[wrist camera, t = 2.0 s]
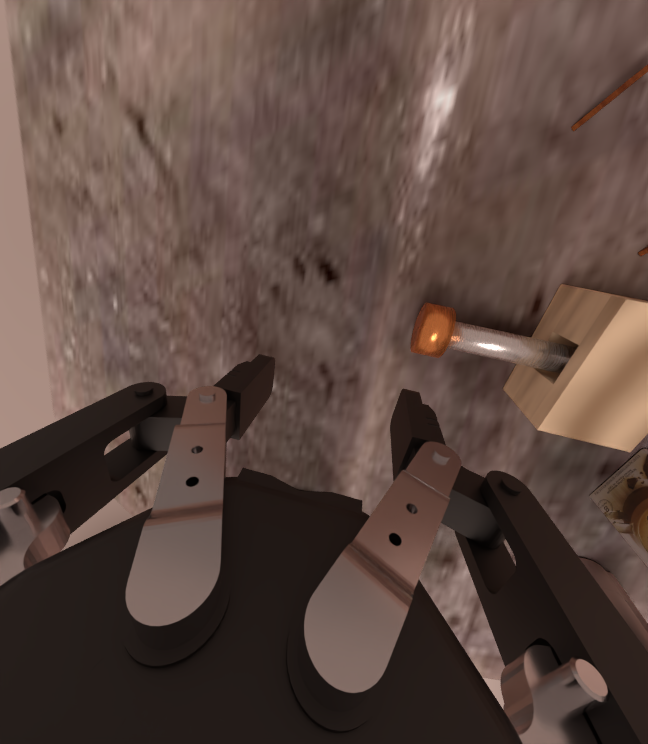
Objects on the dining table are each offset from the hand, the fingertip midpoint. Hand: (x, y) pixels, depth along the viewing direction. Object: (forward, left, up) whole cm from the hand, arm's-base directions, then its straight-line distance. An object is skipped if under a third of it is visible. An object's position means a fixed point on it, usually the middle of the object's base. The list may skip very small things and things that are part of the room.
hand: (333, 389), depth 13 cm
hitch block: (-23, 0, -20) cm, 30 cm away
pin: (-14, 0, -18) cm, 22 cm away
